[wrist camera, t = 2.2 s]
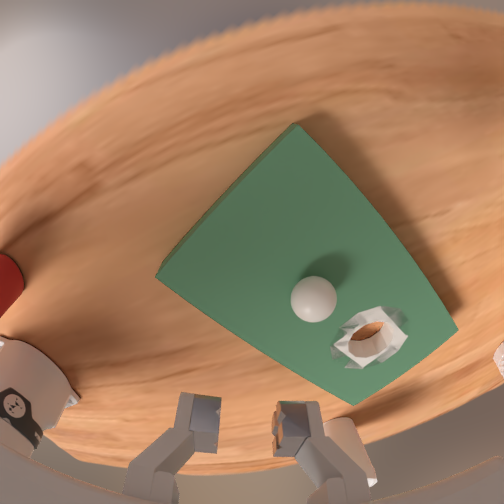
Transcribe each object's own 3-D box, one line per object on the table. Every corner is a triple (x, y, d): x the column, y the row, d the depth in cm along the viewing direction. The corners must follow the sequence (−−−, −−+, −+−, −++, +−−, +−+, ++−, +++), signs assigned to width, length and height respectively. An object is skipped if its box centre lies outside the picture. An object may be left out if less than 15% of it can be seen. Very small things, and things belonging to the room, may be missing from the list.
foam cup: (299, 430, 44) (306, 495, 33) (341, 407, 41) (357, 476, 29) (331, 441, 47) (341, 498, 35) (370, 420, 44) (387, 479, 32)
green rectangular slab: (349, 390, 39) (353, 405, 36) (162, 261, 29) (154, 277, 26) (448, 316, 33) (458, 330, 30) (292, 123, 23) (298, 124, 20)
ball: (307, 310, 28) (314, 339, 24) (279, 287, 27) (283, 315, 23) (339, 285, 27) (351, 311, 23) (312, 259, 26) (321, 284, 22)
